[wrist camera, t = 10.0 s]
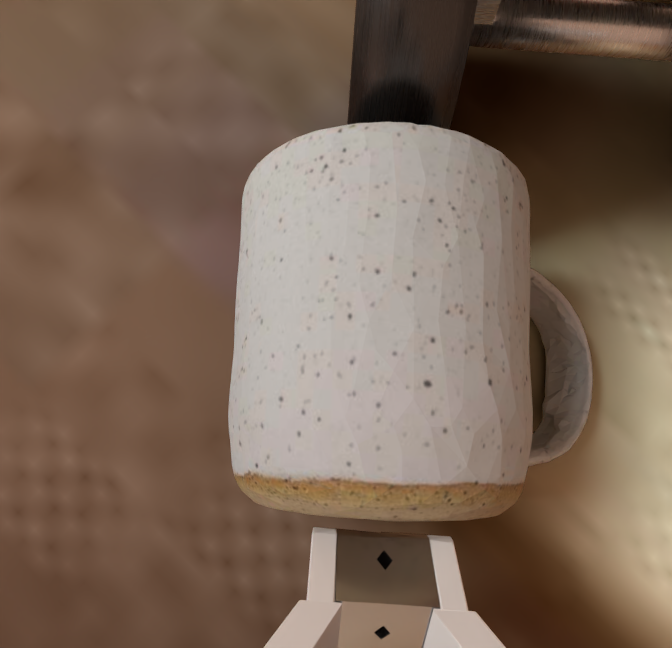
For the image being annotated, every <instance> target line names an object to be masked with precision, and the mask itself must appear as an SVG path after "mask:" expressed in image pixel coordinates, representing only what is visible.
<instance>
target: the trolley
mask: <svg viewBox="0 0 672 648" xmlns="http://www.w3.org/2000/svg"><path fill="white" fill-rule="evenodd" d="M469 46H472V47H485V48H499V49H512V50H525V51H538V52H552V53H565V54H578V55H591V56H605V57H618V58H631V59H644V60H658V61H671V62H672V4H667V3H654V2H641V1H628V0H356V9H355V23H354V37H353V51H352V65H351V79H350V93H349V108H348V122H347V125H350V124H356V123H372V122H407V123H414V124H417V125H431V126H435V127H439V128H444V129H448V130H449V129H450V125H451V122H452V118H453V114H454V110H455V106H456V103H457V98H458V94H459V90H460V86H461V81H462V77H463V73H464V68H465V63H466V58H467V53H468V49H469Z"/></svg>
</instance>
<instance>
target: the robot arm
mask: <svg viewBox="0 0 672 648" xmlns="http://www.w3.org/2000/svg"><path fill="white" fill-rule="evenodd" d="M264 648H506V647H505V646H504V645H503V644H502V642H501V641H500V640H499V639H498V638H497V636H496V635H495V634H494V633H493V632H492V630H491V629H490V628H489V627H488V626H487V624H486V623H485V622H484V621H483V620H482V618H481V617H480V616H479V615H478V614H477V612H475V611H469V610H468V606H467V601H466V597H465V592H464V587H463V583H462V578H461V574H460V569H459V564H458V560H457V555H456V551H455V546H454V542H453V540H452V538H451V537H450V536H437V535H426V534H412V533H392V532H381V533H377V532H367V531H356V530H345V529H337V530H336V529H334V528H321V527H313V532H312V540H311V553H310V565H309V577H308V589H307V600H299V601H298V603H297V604H296V605H295V607H294V608H293V609H292V611H291V612H290V613H289V615H288V616H287V617H286V619H285V620H284V621H283V622H282V624H281V625H280V626H279V628H278V629H277V630H276V632H275V633H274V634H273V636H272V637H271V638H270V640H269V641H268V642H267V644H266V645H265V646H264Z"/></svg>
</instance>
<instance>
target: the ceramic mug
mask: <svg viewBox="0 0 672 648" xmlns="http://www.w3.org/2000/svg"><path fill="white" fill-rule="evenodd" d="M530 318H531V319H532V321H533V323H534V324H535V325H536V326H537V328H538V330H539V332H540V334H541V339H542V342H543V345H544V347H545V354H546V379H545V399H544V401H543V404H542V408H543V420H542V421H541V423H540V425H539V426H538V428H537V430H536V431H535V432H534V433H533V434H532V427H533V407H532V391H531V375H530V358H529V324H530ZM592 388H593V368H592V359H591V353H590V349H589V345H588V341H587V338H586V334H585V331H584V329H583V326H582V324H581V322H580V319H579V317H578V315H577V314H576V312H575V310H574V309H573V307H572V305H571V304H570V303H569V302H568V300H567V299H566V298H565V297H564V296H563V294H562V293H561V292H560V291H559V290H558V289H557V288H556V286H555V285H553V284H552V283H551V282H550V281H548V280H547V279H546V278H545V277H544V276H542V275H541V274H540V273H538V272H537V271H535V270H534V269H532V268H530V199H529V193H528V189H527V185H526V180H525V178H524V176H523V175H522V174H521V172H520V171H519V169H518V168H517V166H515V165H514V164H513V163H512V162H511V161H510V160H509V159H508V158H507V157H506V156H505V155H504V154H503V153H502V152H500V151H498V150H497V149H495V148H493V147H491V146H489V145H487V144H485V143H483V142H481V141H479V140H477V139H475V138H473V137H471V136H469V135H466V134H463V133H460V132H458V131H453V130H448V129H444V128H439V127H435V126H431V125H417V124H414V123H407V122H372V123H356V124H350V125H343V126H339V127H333V128H328V129H322V130H317V131H314V132H311V133H308V134H306V135H303V136H300V137H297V138H294V139H292V140H291V141H289V142H287V143H285V144H284V145H282V146H280V147H278V148H277V149H275V150H274V151H272V152H271V153H270V154H268V155H267V156H266V157H264V158H263V159H262V160H261V161H260V162H259V163H258V164H257V166H256V167H255V168H254V170H253V171H252V172H251V174H250V176H249V178H248V180H247V183H246V185H245V188H244V193H243V198H242V217H241V240H240V252H239V267H238V276H237V292H236V307H235V335H234V355H233V364H232V375H231V385H230V396H229V411H228V420H229V435H230V444H231V458H232V468H233V472H234V476H235V480H236V481H237V483H238V485H239V487H240V489H241V491H243V492H244V493H245V494H246V495H247V496H248V497H249V498H250V499H252V500H253V501H254V502H255V503H257V504H260V505H263V506H266V507H269V508H273V509H279V510H285V511H291V512H297V513H303V514H309V515H318V516H328V517H341V518H358V519H371V520H381V521H460V520H473V519H481V518H489V517H494V516H498V515H500V514H501V513H503V512H504V511H506V510H507V509H508V508H510V507H511V506H512V505H514V504H515V503H516V502H517V500H518V498H519V497H520V495H521V494H522V491H523V486H524V482H525V477H526V473H527V468H528V466H532V465H535V464H538V463H546V462H549V461H551V460H553V459H555V458H557V457H559V456H561V455H563V454H564V453H566V452H567V451H568V450H569V449H570V448H571V447H572V446H573V444H574V443H575V441H576V440H577V439H578V437H579V436H580V434H581V432H582V430H583V428H584V426H585V424H586V422H587V418H588V414H589V410H590V405H591V398H592Z"/></svg>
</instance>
